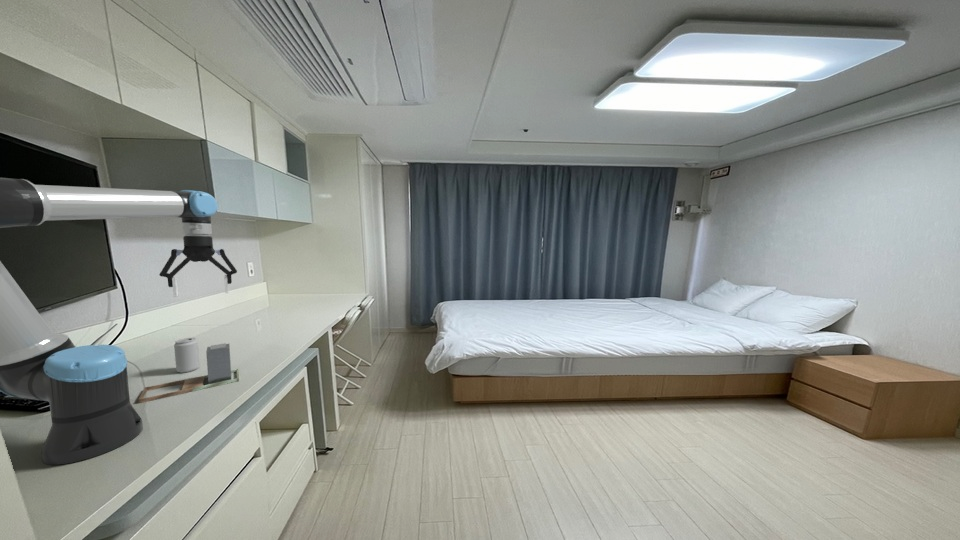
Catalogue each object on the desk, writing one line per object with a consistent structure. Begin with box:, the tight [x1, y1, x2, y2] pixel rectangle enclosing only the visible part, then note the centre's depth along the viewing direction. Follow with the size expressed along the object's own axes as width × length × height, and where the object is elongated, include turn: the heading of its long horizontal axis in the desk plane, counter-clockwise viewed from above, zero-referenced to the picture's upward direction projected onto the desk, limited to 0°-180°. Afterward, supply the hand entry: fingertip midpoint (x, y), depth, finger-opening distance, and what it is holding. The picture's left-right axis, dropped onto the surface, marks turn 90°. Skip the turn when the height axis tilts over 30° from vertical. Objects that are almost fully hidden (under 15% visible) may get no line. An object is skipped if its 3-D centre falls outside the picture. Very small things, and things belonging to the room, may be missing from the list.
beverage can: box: [173, 337, 200, 374], centre depth 114 cm, size 6×6×12 cm
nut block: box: [205, 342, 232, 385], centre depth 106 cm, size 6×6×13 cm
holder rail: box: [137, 368, 240, 404], centre depth 102 cm, size 24×10×1 cm, turn 130°
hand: (202, 294), depth 108 cm, fingers open, 13 cm apart
